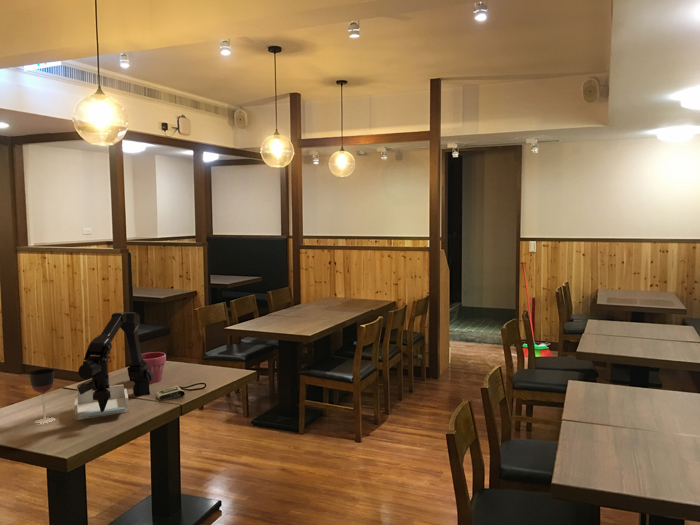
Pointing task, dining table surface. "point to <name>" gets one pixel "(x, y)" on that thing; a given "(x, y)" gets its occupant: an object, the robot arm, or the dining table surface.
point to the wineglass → (42, 387)
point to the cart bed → (89, 405)
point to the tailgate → (99, 413)
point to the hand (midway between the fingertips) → (102, 411)
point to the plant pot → (155, 364)
